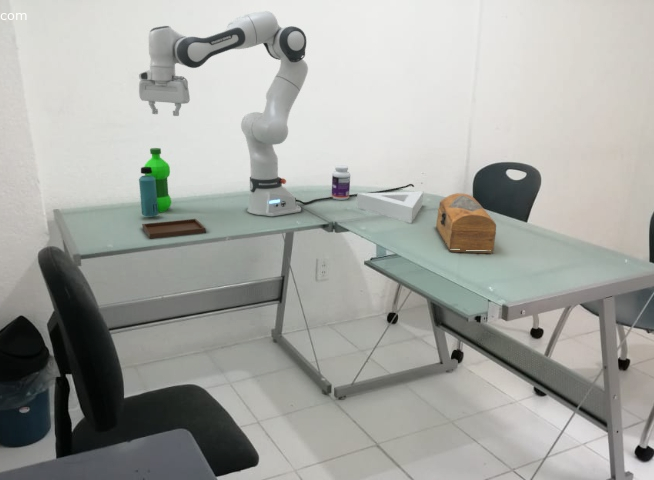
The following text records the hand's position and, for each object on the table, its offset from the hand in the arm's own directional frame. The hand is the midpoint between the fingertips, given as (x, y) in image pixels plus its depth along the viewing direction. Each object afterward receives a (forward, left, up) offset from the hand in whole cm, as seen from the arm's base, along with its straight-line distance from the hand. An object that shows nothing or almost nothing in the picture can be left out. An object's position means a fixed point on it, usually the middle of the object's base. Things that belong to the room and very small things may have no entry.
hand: (165, 114), depth 223 cm
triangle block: (-94, +22, -40) cm, 104 cm away
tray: (+4, +17, -39) cm, 43 cm away
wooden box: (-90, +66, -40) cm, 119 cm away
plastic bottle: (+2, -13, -40) cm, 42 cm away
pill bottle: (-78, -5, -40) cm, 87 cm away
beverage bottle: (+8, -3, -40) cm, 40 cm away
